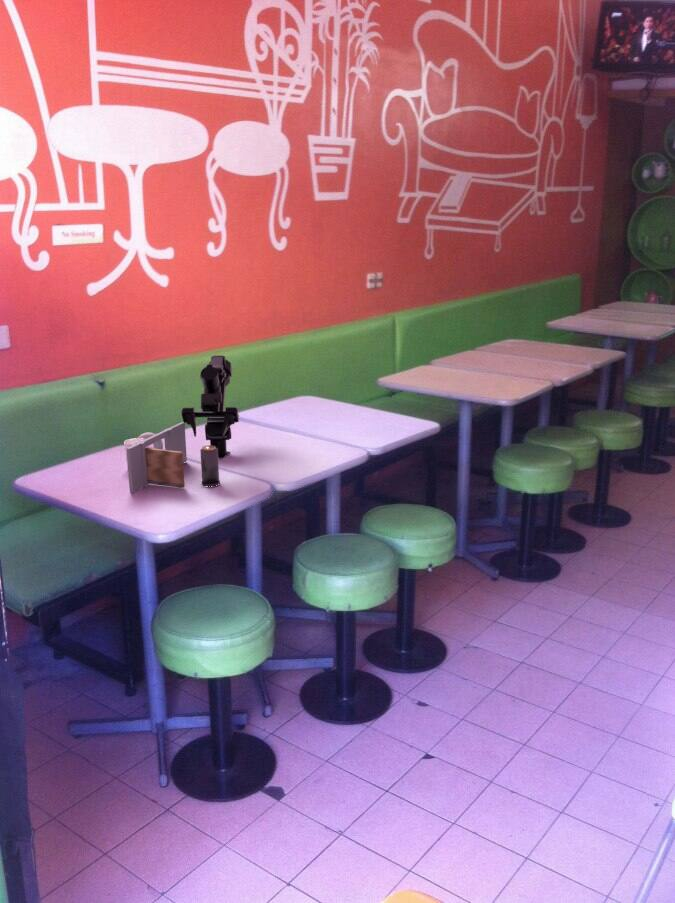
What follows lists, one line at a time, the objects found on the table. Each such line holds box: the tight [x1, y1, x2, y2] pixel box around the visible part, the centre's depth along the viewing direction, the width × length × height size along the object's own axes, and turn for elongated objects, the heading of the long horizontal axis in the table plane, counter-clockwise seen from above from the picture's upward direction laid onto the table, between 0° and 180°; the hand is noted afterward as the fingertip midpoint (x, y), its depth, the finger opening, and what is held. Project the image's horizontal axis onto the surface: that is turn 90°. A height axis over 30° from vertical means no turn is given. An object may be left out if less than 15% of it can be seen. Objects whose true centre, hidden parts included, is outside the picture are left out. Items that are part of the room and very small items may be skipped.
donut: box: [137, 431, 164, 450], centre depth 308 cm, size 10×4×10 cm, turn 94°
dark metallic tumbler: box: [199, 444, 221, 488], centre depth 280 cm, size 6×6×13 cm
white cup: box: [123, 437, 148, 468], centre depth 297 cm, size 8×8×10 cm
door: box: [145, 447, 186, 489], centre depth 278 cm, size 14×1×12 cm, turn 70°
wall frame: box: [126, 421, 188, 494], centre depth 288 cm, size 34×2×15 cm, turn 159°
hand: (208, 435), depth 285 cm, fingers open, 9 cm apart
